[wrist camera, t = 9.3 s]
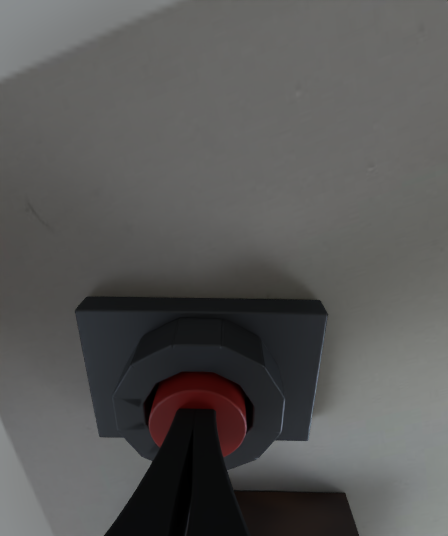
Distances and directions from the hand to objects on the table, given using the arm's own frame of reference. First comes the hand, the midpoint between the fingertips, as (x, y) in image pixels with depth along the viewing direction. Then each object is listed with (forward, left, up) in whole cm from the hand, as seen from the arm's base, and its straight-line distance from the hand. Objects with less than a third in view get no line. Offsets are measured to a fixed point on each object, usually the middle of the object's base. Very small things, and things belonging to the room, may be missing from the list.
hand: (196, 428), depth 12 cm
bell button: (0, 0, -2) cm, 2 cm away
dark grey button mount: (0, 0, -4) cm, 4 cm away
